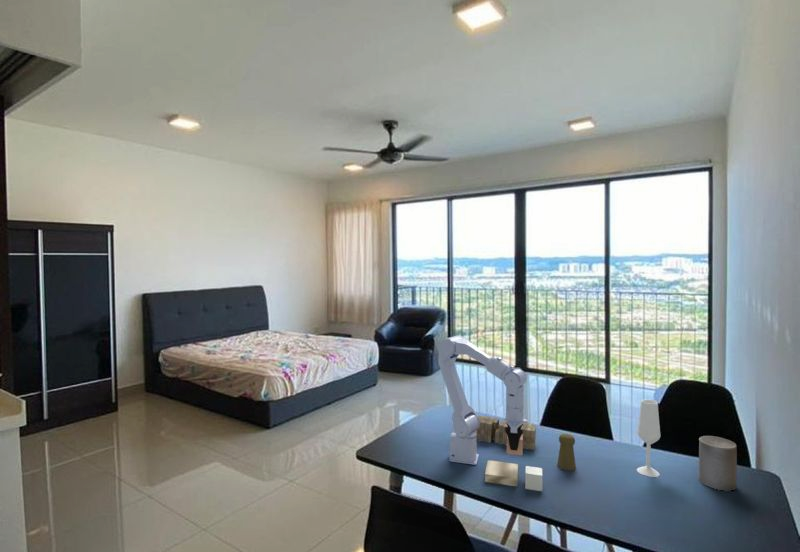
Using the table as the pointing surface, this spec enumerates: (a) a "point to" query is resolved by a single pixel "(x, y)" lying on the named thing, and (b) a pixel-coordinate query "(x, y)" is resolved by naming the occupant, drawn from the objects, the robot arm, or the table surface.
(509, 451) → the terracotta cube
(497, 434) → the block tower
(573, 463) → the cork
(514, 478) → the birch base block
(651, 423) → the champagne flute
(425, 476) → the table surface
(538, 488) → the off-white cube
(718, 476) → the pillar candle
